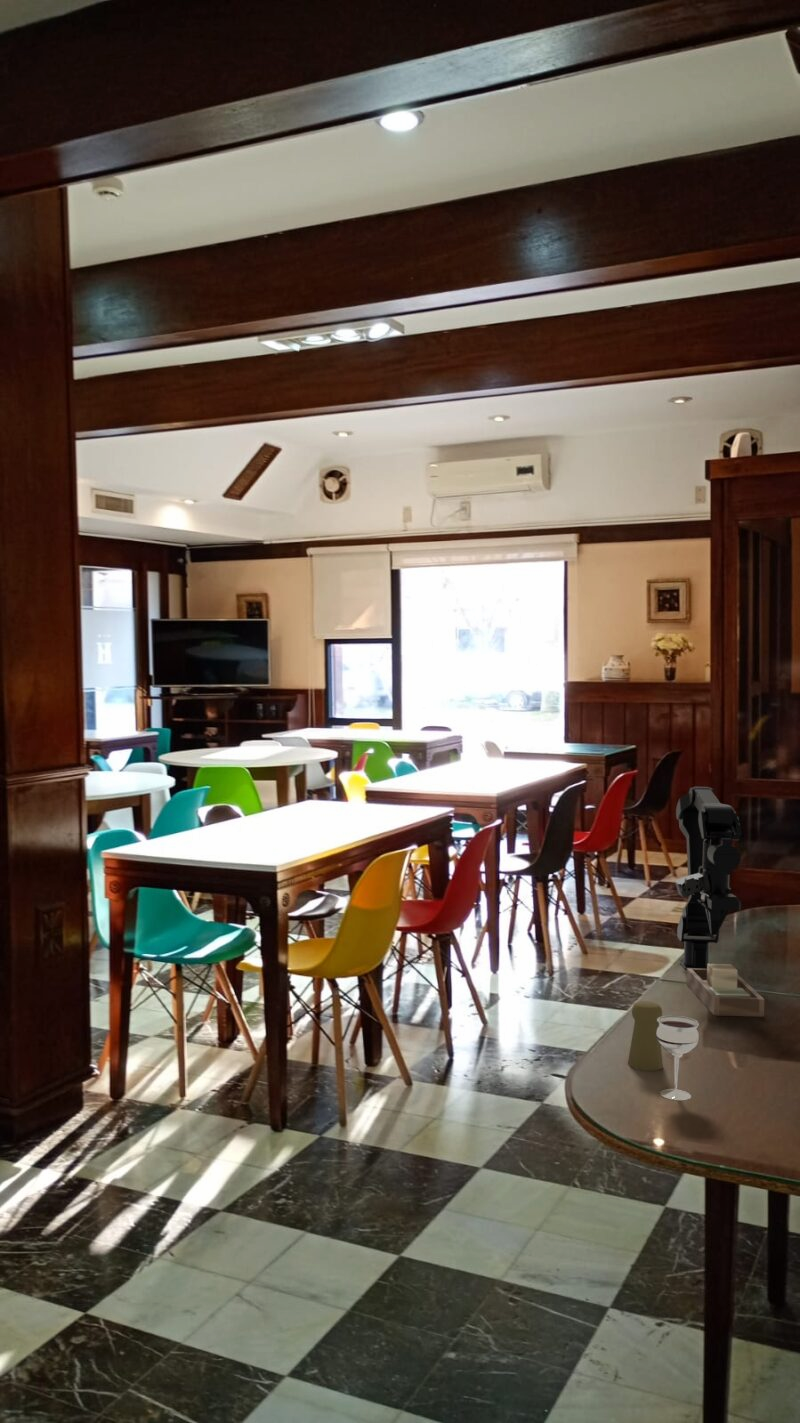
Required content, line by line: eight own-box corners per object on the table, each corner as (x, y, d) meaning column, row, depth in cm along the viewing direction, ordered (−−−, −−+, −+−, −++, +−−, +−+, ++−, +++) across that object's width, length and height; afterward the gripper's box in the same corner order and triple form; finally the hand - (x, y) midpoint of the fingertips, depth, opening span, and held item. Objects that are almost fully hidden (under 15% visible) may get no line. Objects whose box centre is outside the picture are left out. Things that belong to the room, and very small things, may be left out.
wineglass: (695, 1104, 184) (697, 1030, 183) (651, 1098, 186) (654, 1025, 186) (698, 1090, 190) (701, 1018, 190) (656, 1084, 192) (658, 1013, 192)
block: (706, 982, 247) (707, 963, 247) (730, 982, 247) (730, 964, 247) (712, 988, 242) (713, 969, 242) (736, 989, 242) (737, 970, 242)
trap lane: (686, 983, 255) (686, 968, 255) (731, 984, 255) (732, 969, 255) (714, 1015, 232) (714, 998, 232) (763, 1016, 232) (764, 999, 232)
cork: (660, 1059, 205) (662, 998, 204) (665, 1071, 199) (667, 1008, 198) (626, 1057, 205) (628, 996, 205) (629, 1069, 199) (631, 1006, 199)
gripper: (669, 855, 261) (666, 924, 261) (689, 870, 242) (687, 944, 243) (718, 856, 261) (716, 925, 261) (742, 871, 242) (740, 945, 243)
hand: (713, 934), depth 252 cm, fingers closed
